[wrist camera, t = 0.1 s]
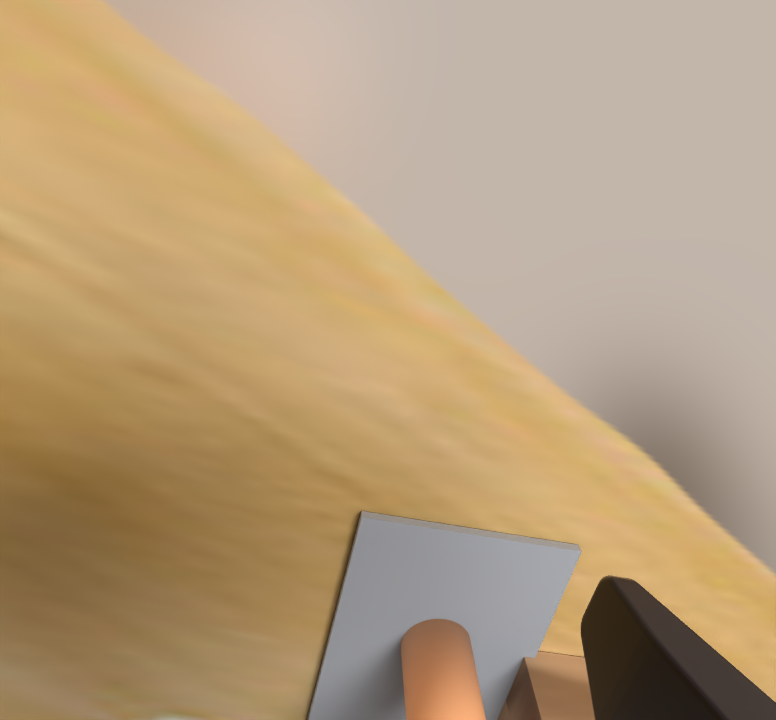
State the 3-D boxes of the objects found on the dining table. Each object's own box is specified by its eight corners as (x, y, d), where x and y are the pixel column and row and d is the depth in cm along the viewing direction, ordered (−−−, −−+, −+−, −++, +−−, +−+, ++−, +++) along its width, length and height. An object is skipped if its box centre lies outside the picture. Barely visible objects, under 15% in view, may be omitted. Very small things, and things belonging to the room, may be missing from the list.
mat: (494, 740, 33) (495, 748, 33) (307, 719, 32) (306, 727, 32) (578, 544, 28) (581, 551, 28) (361, 510, 27) (361, 517, 27)
